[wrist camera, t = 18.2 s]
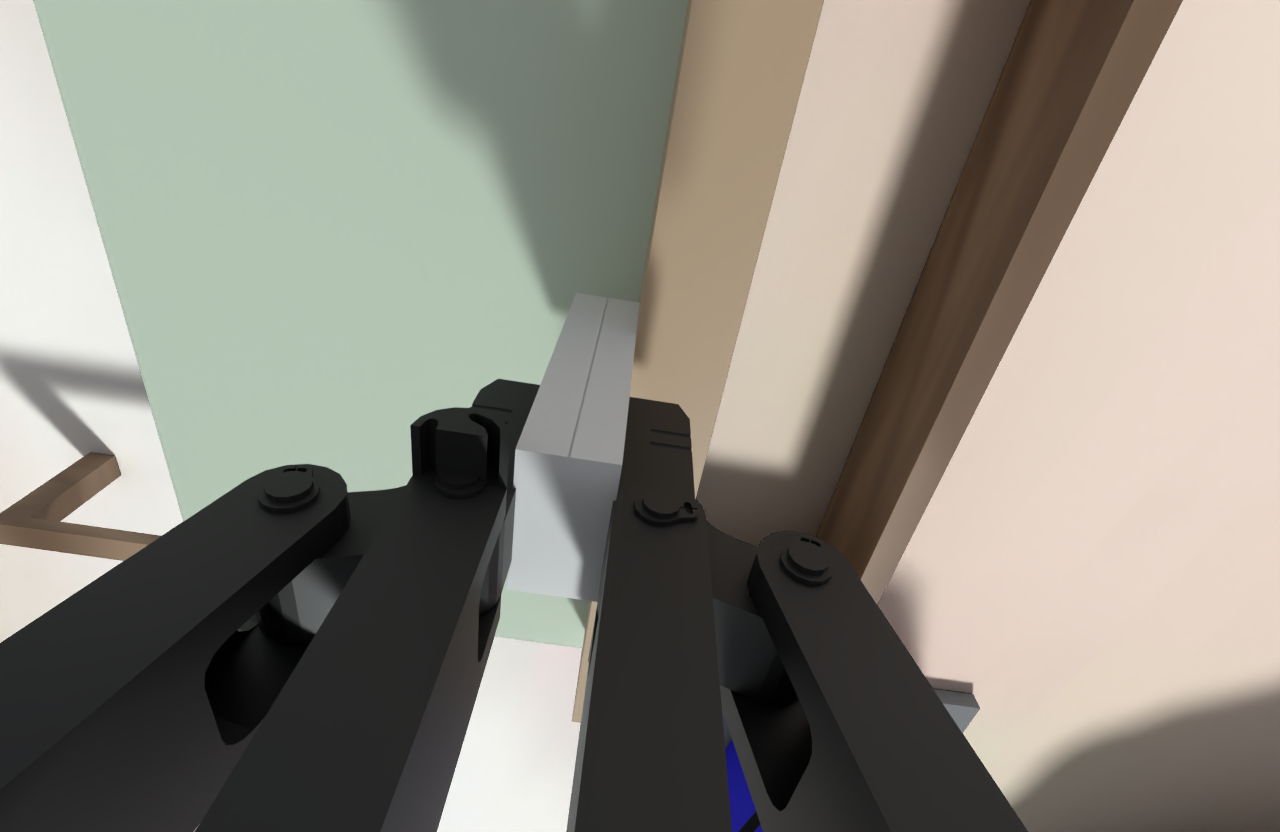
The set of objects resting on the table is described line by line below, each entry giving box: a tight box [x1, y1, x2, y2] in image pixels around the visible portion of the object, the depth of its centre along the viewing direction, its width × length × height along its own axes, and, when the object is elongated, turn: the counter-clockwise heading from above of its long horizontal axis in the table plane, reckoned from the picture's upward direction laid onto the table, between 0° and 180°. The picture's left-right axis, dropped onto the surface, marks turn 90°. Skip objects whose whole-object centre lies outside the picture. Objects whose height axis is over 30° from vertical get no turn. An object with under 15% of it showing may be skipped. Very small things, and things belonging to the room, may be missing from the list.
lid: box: [33, 0, 824, 723], centre depth 15 cm, size 16×25×4 cm, turn 171°
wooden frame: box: [0, 0, 1183, 604], centre depth 19 cm, size 32×25×4 cm
